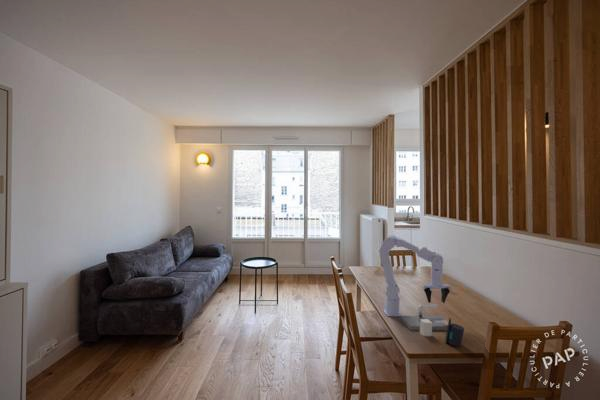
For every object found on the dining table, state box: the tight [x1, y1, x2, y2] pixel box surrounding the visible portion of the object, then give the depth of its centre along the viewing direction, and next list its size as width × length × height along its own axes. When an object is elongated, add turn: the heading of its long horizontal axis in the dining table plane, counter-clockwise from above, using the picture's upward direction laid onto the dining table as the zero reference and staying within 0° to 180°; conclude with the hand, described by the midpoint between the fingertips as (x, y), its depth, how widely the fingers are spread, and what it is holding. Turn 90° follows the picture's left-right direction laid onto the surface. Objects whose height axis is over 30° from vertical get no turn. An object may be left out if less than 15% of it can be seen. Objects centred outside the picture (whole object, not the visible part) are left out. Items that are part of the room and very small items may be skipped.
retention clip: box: [417, 303, 438, 317], centre depth 163 cm, size 12×2×6 cm, turn 106°
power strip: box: [400, 315, 449, 331], centre depth 157 cm, size 13×22×3 cm, turn 91°
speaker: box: [445, 317, 465, 348], centre depth 137 cm, size 8×6×10 cm
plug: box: [419, 319, 433, 337], centre depth 146 cm, size 4×4×6 cm
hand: (436, 302), depth 161 cm, fingers open, 7 cm apart
